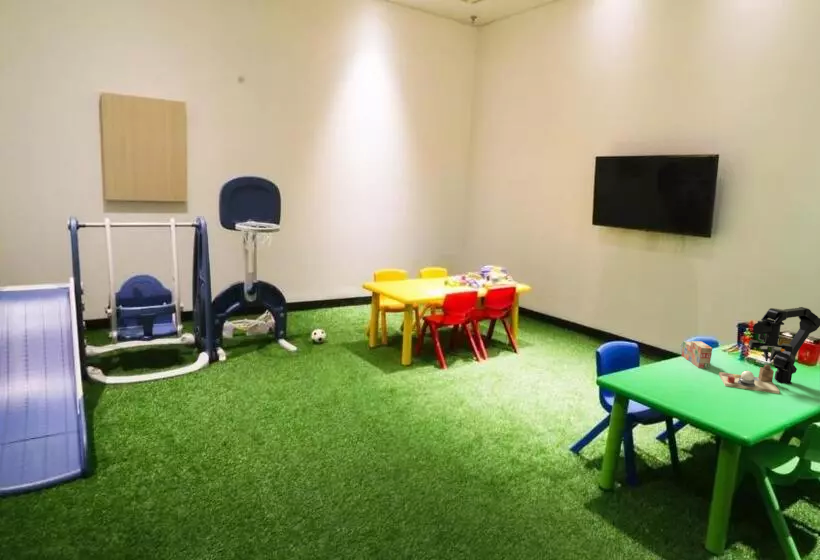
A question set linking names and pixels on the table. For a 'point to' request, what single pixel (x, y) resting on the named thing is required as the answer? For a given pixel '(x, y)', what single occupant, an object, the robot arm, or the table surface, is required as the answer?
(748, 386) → the game board
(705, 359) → the stack of blocks
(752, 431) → the table surface
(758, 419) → the table surface
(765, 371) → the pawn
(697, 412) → the table surface
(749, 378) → the dome
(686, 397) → the table surface
